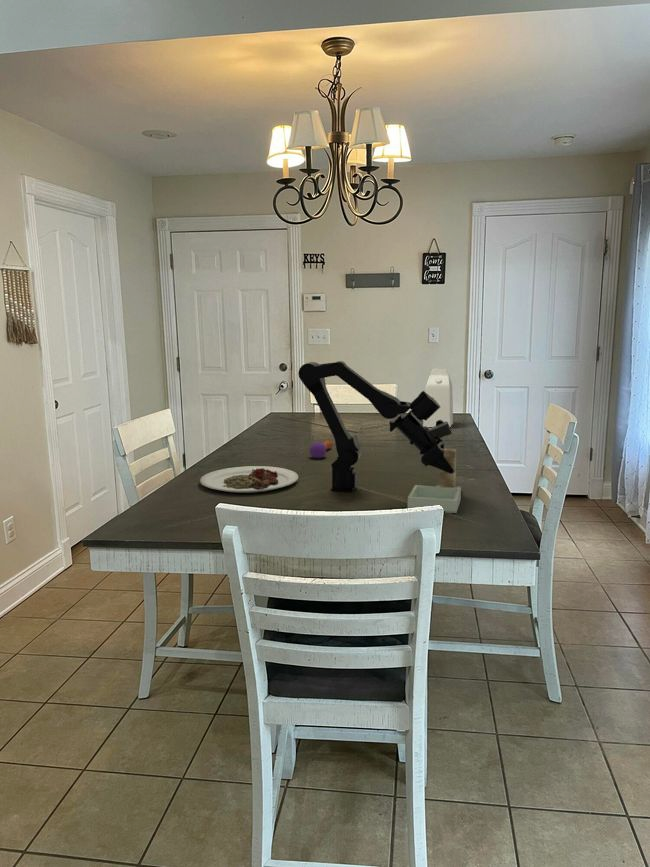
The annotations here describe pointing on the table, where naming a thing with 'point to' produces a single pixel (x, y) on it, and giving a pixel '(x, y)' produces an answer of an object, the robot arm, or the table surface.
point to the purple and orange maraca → (319, 449)
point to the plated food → (249, 479)
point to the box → (435, 497)
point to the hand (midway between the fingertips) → (452, 470)
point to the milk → (440, 397)
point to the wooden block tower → (446, 477)
